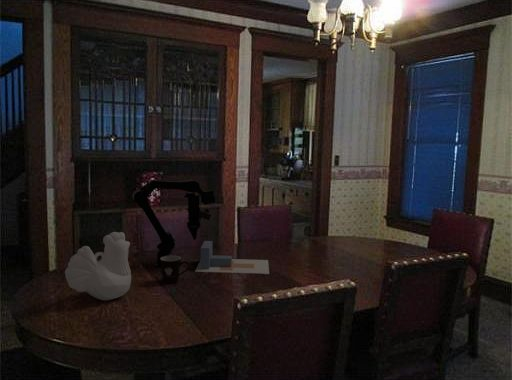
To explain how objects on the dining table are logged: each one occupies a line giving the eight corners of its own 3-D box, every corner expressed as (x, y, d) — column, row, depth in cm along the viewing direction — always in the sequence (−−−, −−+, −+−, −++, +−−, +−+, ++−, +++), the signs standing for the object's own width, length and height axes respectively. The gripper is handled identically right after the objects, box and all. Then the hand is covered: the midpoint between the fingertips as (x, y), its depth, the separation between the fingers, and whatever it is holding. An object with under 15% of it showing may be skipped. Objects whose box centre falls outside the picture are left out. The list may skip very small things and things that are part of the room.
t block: (200, 268, 198) (200, 248, 197) (204, 260, 212) (204, 240, 211) (230, 269, 198) (230, 248, 197) (232, 261, 212) (232, 241, 211)
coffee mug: (155, 282, 180) (155, 259, 179) (169, 276, 187) (169, 254, 186) (177, 287, 174) (178, 263, 173) (190, 281, 182) (190, 258, 181)
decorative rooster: (123, 285, 174) (123, 226, 171) (138, 297, 162) (138, 233, 159) (58, 298, 159) (56, 233, 156) (69, 312, 147) (67, 242, 144)
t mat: (194, 272, 194) (194, 271, 194) (201, 258, 216) (201, 258, 216) (269, 274, 194) (269, 273, 194) (268, 260, 216) (268, 260, 216)
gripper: (210, 208, 197) (211, 241, 200) (210, 201, 216) (211, 231, 218) (186, 209, 196) (187, 242, 199) (188, 202, 215) (189, 233, 217)
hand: (195, 237), depth 208 cm, fingers open, 9 cm apart
